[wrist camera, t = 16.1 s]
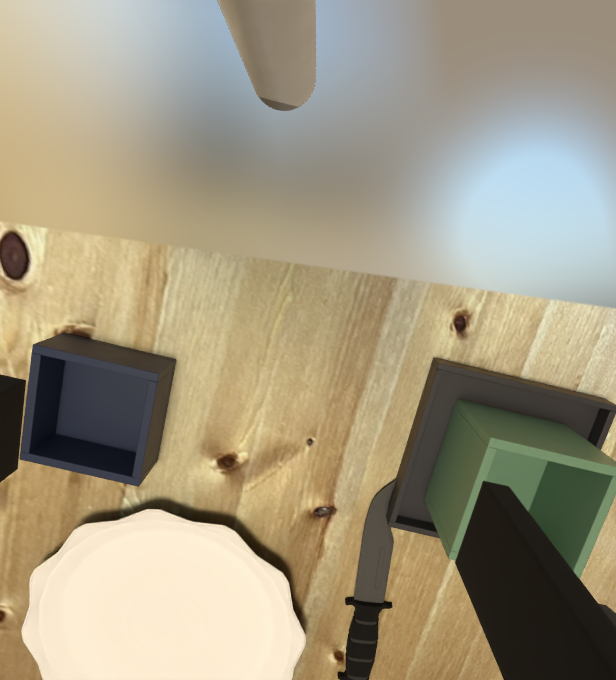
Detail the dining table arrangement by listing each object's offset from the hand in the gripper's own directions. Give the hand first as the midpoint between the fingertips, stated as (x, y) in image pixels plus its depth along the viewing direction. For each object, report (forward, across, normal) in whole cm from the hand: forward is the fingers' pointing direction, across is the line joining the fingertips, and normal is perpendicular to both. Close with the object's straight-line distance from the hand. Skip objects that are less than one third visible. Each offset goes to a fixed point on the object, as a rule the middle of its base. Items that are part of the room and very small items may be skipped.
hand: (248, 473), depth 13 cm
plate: (+31, -6, -37) cm, 49 cm away
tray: (+31, +22, -10) cm, 40 cm away
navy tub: (+31, -16, -13) cm, 37 cm away
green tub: (+31, +22, -11) cm, 39 cm away
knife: (+32, +14, -27) cm, 44 cm away
